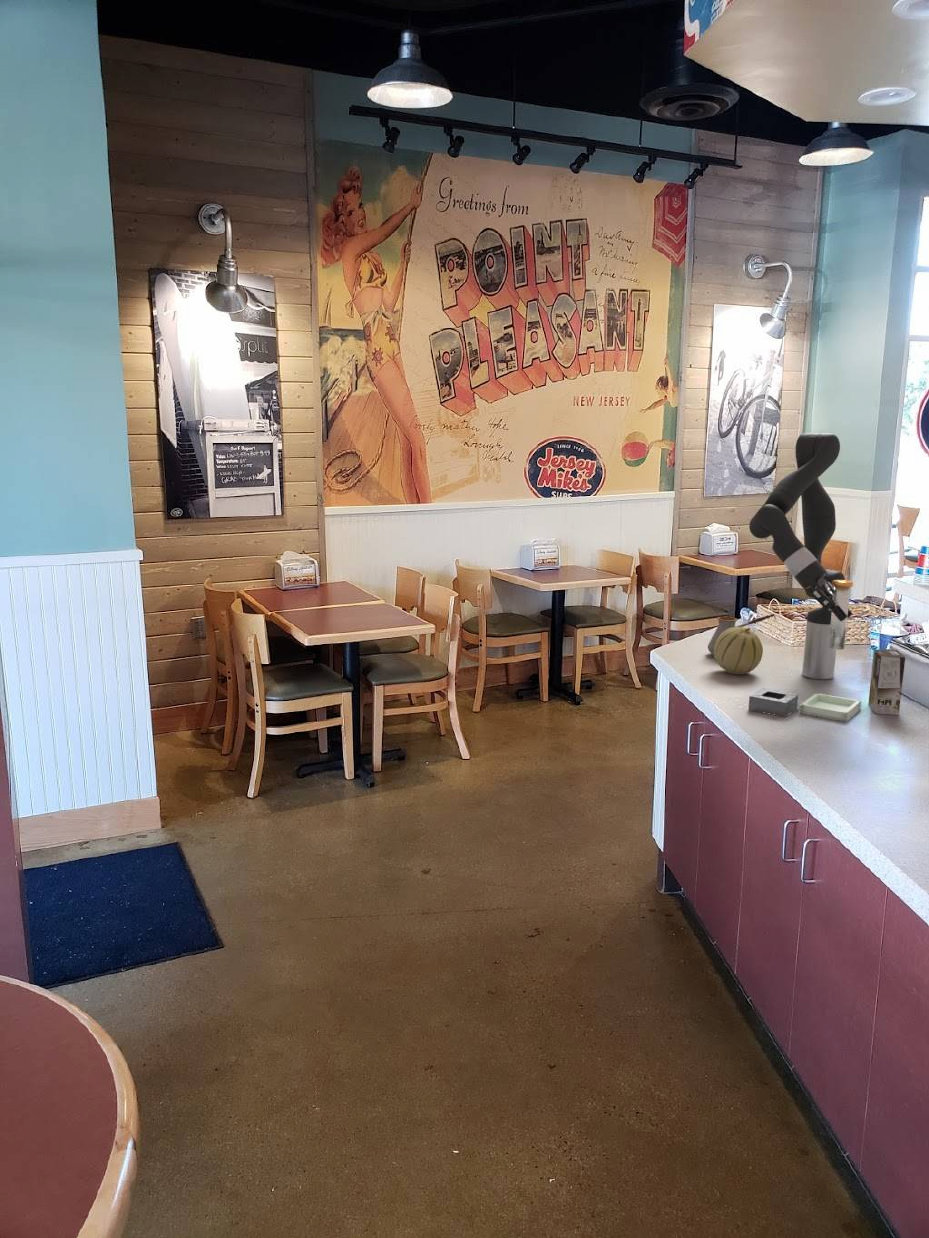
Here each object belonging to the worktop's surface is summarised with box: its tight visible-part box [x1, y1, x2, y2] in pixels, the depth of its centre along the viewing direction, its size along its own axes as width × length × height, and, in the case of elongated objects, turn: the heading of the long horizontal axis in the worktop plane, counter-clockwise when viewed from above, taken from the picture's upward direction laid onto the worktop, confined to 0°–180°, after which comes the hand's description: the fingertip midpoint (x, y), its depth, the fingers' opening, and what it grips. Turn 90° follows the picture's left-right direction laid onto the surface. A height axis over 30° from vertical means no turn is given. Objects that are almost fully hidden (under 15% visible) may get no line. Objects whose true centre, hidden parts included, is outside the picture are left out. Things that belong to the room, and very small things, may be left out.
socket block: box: [748, 687, 799, 718], centre depth 259 cm, size 10×10×4 cm
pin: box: [828, 579, 854, 651], centre depth 253 cm, size 5×5×18 cm
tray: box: [799, 692, 862, 723], centre depth 258 cm, size 14×12×2 cm
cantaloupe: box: [713, 626, 764, 675], centre depth 294 cm, size 15×15×15 cm
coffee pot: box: [707, 613, 777, 657], centre depth 315 cm, size 21×12×15 cm, turn 82°
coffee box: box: [868, 648, 906, 716], centre depth 259 cm, size 9×6×16 cm
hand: (846, 617), depth 252 cm, fingers closed on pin, 4 cm apart
